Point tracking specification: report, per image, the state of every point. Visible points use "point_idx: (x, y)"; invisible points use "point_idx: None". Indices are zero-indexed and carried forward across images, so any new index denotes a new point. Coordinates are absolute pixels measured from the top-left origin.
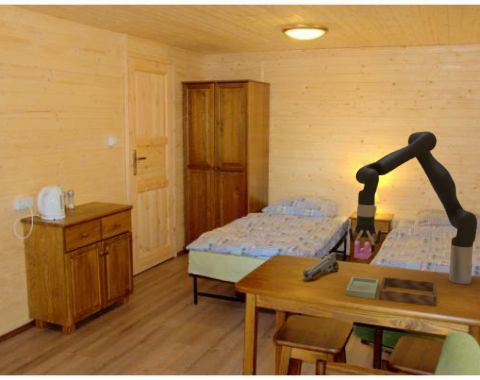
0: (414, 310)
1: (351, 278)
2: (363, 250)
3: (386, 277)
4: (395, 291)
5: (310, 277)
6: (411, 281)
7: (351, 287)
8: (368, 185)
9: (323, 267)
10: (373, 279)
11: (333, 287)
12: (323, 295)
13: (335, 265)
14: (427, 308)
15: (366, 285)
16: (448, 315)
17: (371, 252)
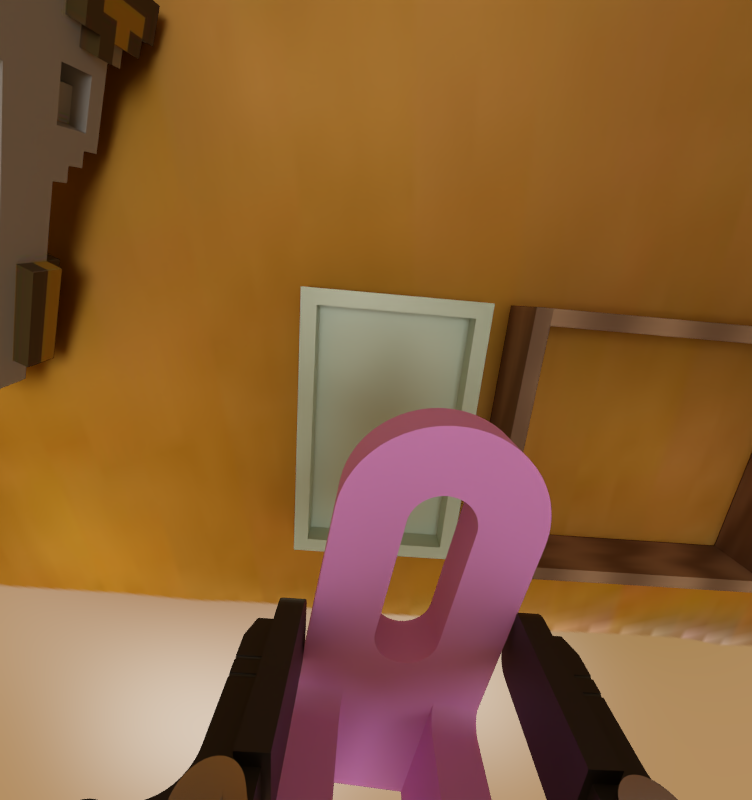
0: (607, 622)
1: (301, 333)
2: (390, 574)
3: (557, 318)
4: (567, 573)
5: (23, 373)
6: (722, 340)
7: (317, 443)
8: None
9: (26, 205)
10: (456, 314)
11: (214, 426)
12: (191, 555)
13: (106, 33)
14: (672, 589)
15: (405, 383)
16: (735, 637)
17: (507, 674)
